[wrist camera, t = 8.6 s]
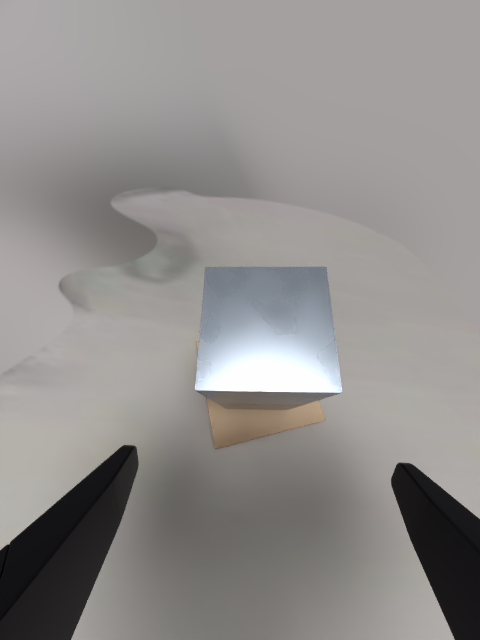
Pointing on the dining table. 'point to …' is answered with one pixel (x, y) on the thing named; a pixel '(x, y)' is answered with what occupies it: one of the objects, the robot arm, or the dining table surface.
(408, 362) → the dining table surface
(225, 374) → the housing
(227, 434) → the cork pad
